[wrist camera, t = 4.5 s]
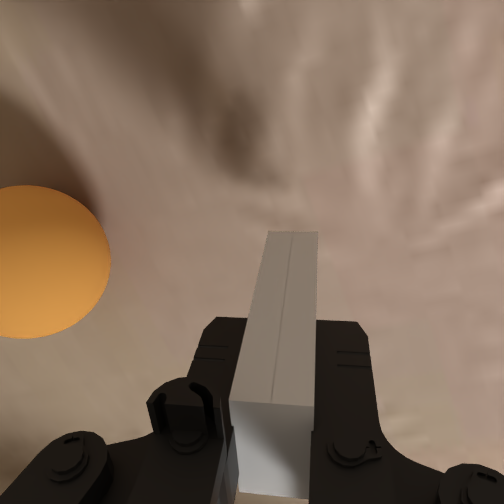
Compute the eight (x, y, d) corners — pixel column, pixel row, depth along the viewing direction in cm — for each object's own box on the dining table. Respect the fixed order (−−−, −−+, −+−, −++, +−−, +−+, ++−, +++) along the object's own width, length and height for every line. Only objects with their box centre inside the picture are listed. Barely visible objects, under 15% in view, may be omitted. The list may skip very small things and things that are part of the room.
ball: (118, 164, 16) (35, 227, 12) (143, 285, 19) (84, 377, 14) (-13, 165, 17) (-140, 225, 12) (29, 281, 20) (-63, 367, 15)
